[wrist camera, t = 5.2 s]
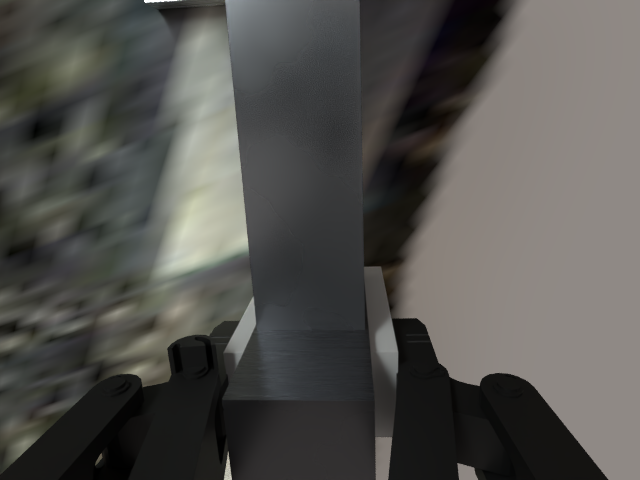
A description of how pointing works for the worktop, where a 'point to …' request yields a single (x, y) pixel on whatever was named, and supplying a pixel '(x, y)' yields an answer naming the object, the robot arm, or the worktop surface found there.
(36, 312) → the worktop surface
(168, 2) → the frame
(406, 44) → the worktop surface
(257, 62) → the bar
